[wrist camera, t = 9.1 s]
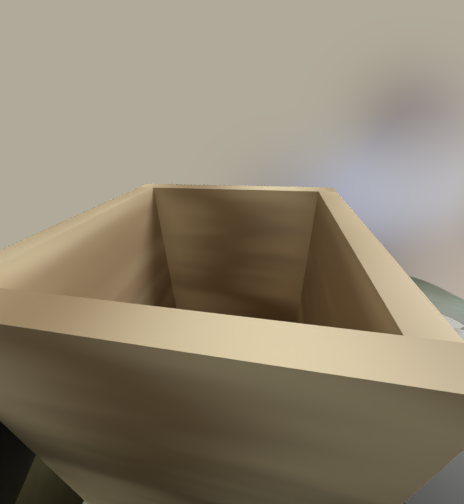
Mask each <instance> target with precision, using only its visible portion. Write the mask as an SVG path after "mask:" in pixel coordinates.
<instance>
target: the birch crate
mask: <svg viewBox="0 0 464 504" xmlns="http://www.w3.org/2000/svg"><path fill="white" fill-rule="evenodd" d="M0 421H1V422H2V423H3V424H4V425H5V426H6V427H7V428H8V429H9V430H10V431H11V432H12V433H13V434H14V435H15V436H17V437H18V438H19V439H20V440H21V441H22V442H23V443H24V444H25V445H26V446H27V447H28V448H29V449H30V450H31V451H32V452H34V453H35V454H36V455H37V456H38V457H39V458H40V459H41V460H42V461H43V462H44V463H45V464H46V465H47V466H48V467H49V468H51V469H52V470H53V471H54V472H55V473H56V474H57V475H58V476H59V477H60V478H61V479H62V480H63V481H64V482H65V483H66V484H68V485H69V486H70V487H71V488H72V489H73V490H74V491H75V492H76V493H77V494H78V495H79V496H80V497H81V498H82V499H83V500H84V501H86V502H87V503H88V504H404V503H405V502H406V501H407V500H408V499H409V498H410V497H411V496H412V495H414V494H415V493H416V492H417V491H418V490H419V489H420V488H421V487H422V486H424V485H425V484H426V483H427V482H428V481H429V480H430V479H431V478H433V477H434V476H435V475H436V474H437V473H438V472H439V471H440V470H441V469H443V468H444V467H445V466H446V465H447V464H448V463H449V462H450V461H451V460H453V459H454V458H455V457H456V456H457V455H458V454H459V453H460V452H461V451H463V450H464V340H463V339H462V338H461V337H460V336H459V334H458V333H457V332H456V331H455V330H454V329H453V327H452V326H451V325H450V324H449V323H448V322H447V320H446V319H445V318H444V317H443V316H442V315H441V313H440V312H439V311H438V310H437V309H436V308H435V306H434V305H433V304H432V303H431V302H430V301H429V299H428V298H427V297H426V296H425V295H424V293H423V292H422V291H421V290H420V289H419V288H418V286H417V285H416V284H415V283H414V282H413V281H412V279H411V278H410V277H409V276H408V275H407V274H406V273H405V271H404V270H403V269H402V268H401V267H400V265H399V264H398V263H397V262H396V261H395V260H394V258H393V257H392V256H391V255H390V254H389V253H388V251H387V250H386V249H385V248H384V247H383V246H382V244H381V243H380V242H379V241H378V240H377V239H376V237H375V236H374V235H373V234H372V233H371V232H370V230H369V229H368V228H367V227H366V226H365V224H364V223H363V222H362V221H361V220H360V219H359V217H358V216H357V215H356V214H355V213H354V212H353V211H352V209H351V208H350V207H349V206H348V205H347V203H346V202H345V201H344V200H343V199H342V198H341V196H340V195H339V194H338V193H337V192H336V191H335V190H334V188H322V187H274V186H270V187H269V186H227V185H226V186H225V185H222V186H221V185H178V184H176V185H175V184H146V185H143V186H141V187H139V188H136V189H134V190H132V191H130V192H128V193H126V194H123V195H121V196H119V197H117V198H115V199H112V200H110V201H108V202H105V203H103V204H101V205H99V206H97V207H94V208H92V209H90V210H88V211H85V212H83V213H82V214H79V215H77V216H74V217H72V218H70V219H68V220H66V221H63V222H61V223H59V224H57V225H54V226H52V227H50V228H48V229H46V230H43V231H41V232H39V233H37V234H35V235H32V236H30V237H28V238H26V239H23V240H21V241H19V242H17V243H15V244H12V245H11V246H8V247H6V248H3V249H1V250H0Z"/></svg>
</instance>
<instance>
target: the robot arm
mask: <svg viewBox="0 0 464 504" xmlns="http://www.w3.org/2000/svg"><path fill="white" fill-rule="evenodd" d="M35 455H36V454H35V453H34V452H32V451H31V450H30V449H29V448H28V447H27V446H26V445H25V444H24V443H23V442H22V441H21V440H20V439H19V438H18V437H17V436H15V435H14V434H13V433H12V432H11V431H10V430H9V429H8V428H7V427H6V426H5V425H4V424H3V423H2V422H1V421H0V504H15V502H16V500H17V497H18V495H19V493H20V490H21V488H22V486H23V483H24V481H25V479H26V476H27V474H28V472H29V469H30V467H31V465H32V462H33V460H34V458H35ZM404 504H464V450H463V451H461V452H460V453H459V454H458V455H457V456H456V457H455V458H454V459H453V460H451V461H450V462H449V463H448V464H447V465H446V466H445V467H444V468H443V469H441V470H440V471H439V472H438V473H437V474H436V475H435V476H434V477H433V478H431V479H430V480H429V481H428V482H427V483H426V484H425V485H424V486H422V487H421V488H420V489H419V490H418V491H417V492H416V493H415V494H414V495H412V496H411V497H410V498H409V499H408V500H407V501H406V502H405V503H404Z"/></svg>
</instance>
